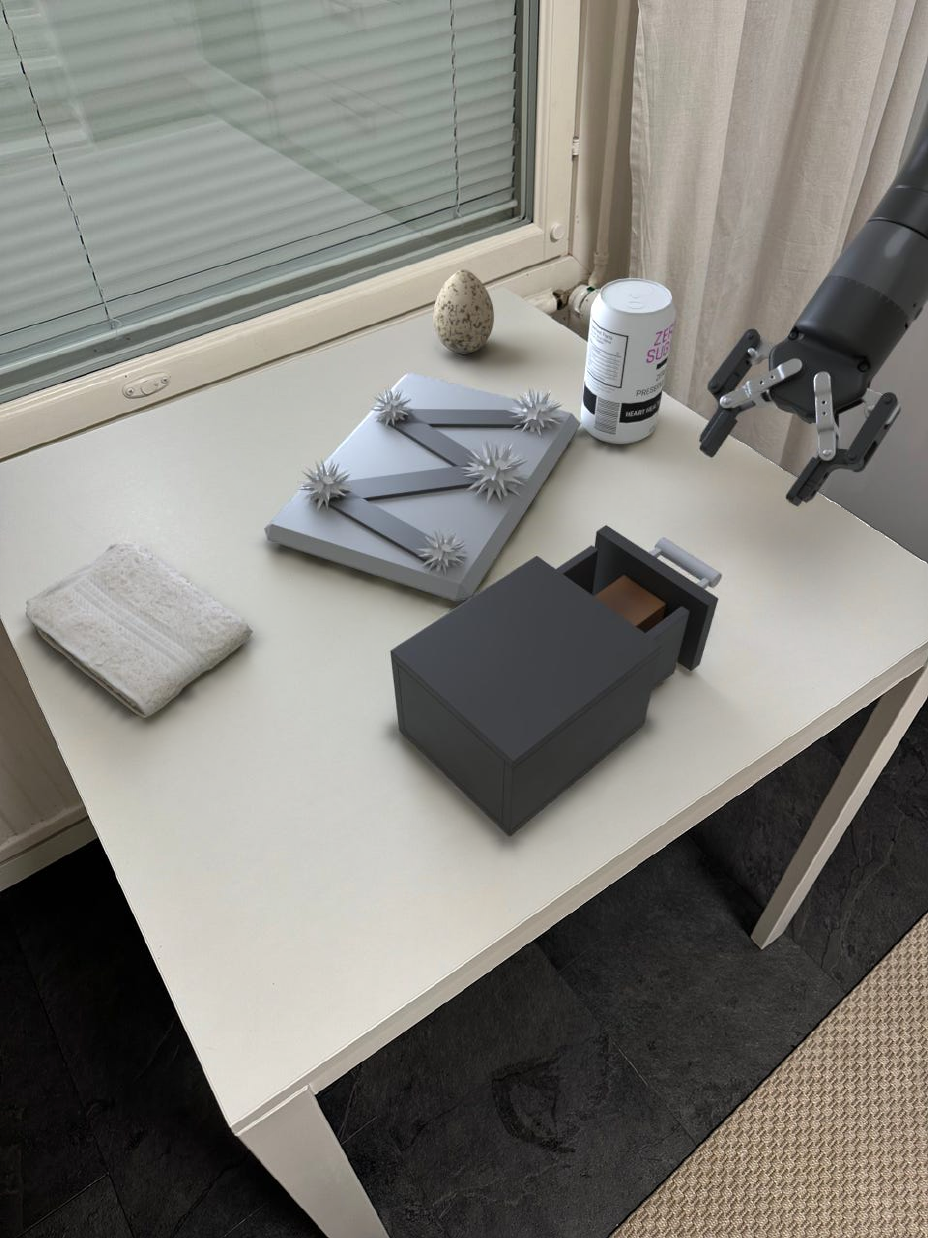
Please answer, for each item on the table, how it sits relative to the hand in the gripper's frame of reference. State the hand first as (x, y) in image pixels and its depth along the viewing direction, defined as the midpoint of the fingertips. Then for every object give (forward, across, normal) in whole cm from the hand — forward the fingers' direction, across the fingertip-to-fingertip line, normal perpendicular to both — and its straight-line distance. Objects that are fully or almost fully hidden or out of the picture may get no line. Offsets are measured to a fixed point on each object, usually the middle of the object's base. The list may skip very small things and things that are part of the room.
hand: (747, 477), depth 73 cm
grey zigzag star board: (+16, -28, 0) cm, 32 cm away
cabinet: (+26, 0, -10) cm, 28 cm away
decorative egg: (+2, -45, +14) cm, 47 cm away
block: (+16, 0, -4) cm, 17 cm away
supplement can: (+1, -22, +16) cm, 27 cm away
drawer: (+18, 0, -3) cm, 18 cm away
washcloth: (+38, -29, -22) cm, 53 cm away
